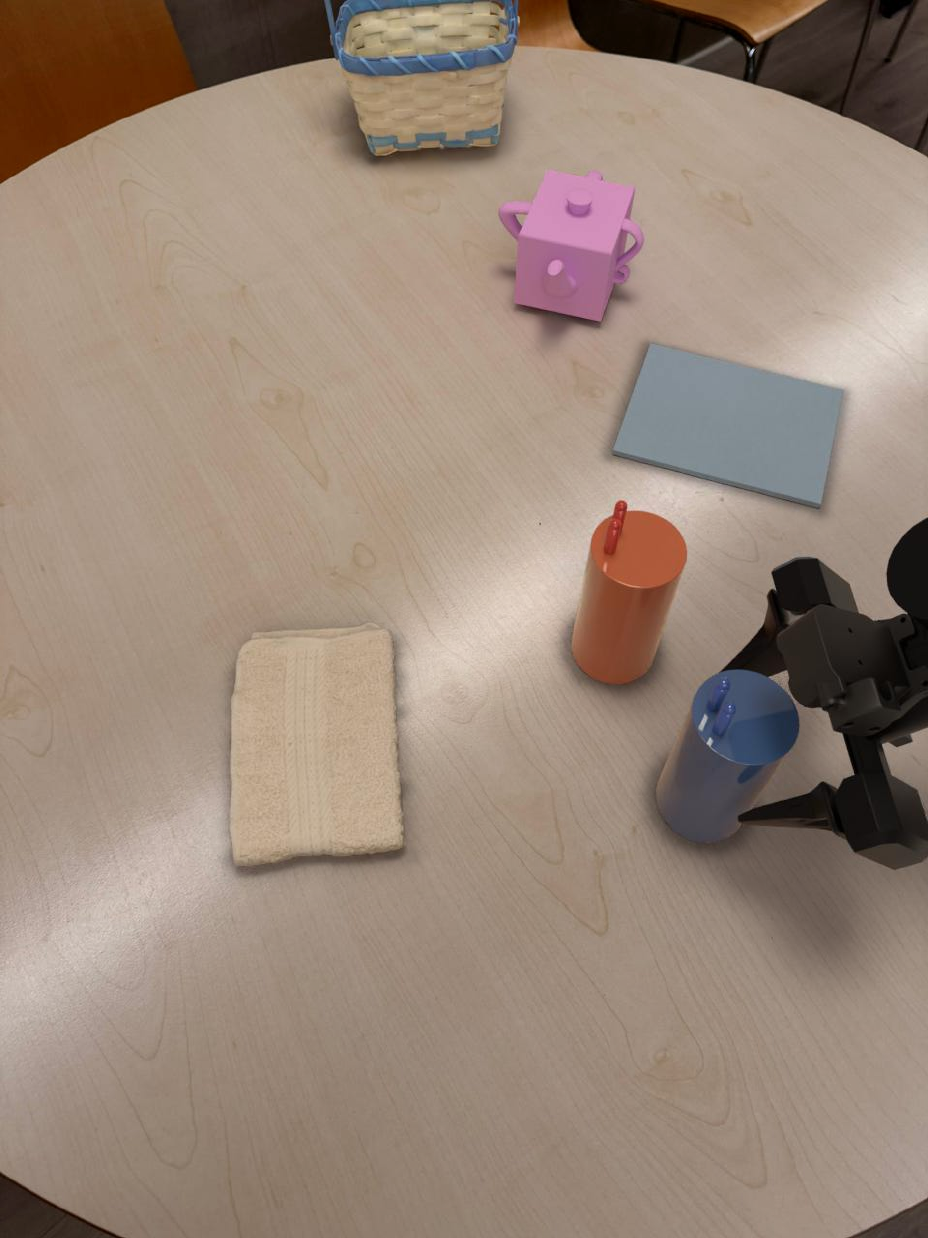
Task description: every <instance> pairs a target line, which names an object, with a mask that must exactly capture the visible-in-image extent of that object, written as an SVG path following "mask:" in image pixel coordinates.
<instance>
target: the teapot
mask: <svg viewBox="0 0 928 1238" xmlns="http://www.w3.org/2000/svg"><path fill="white" fill-rule="evenodd" d="M635 193H636V186H632V185H627V184H622V183H617V182H611V181H606V180H604V175H603V173H602V172H601V171H599V170H597V169H595V170H594V169H593V170H590V171H589V172H588V173H587V174H586V176H581V175H575V174H570V173H565V172H560V171H555V170H551V169H547V170H546V172H545V174H544V177H543V178H542V181H541V183H540V186H539V187H538V190H537V192H536V193H535V197H534V199H533V201H532V202H529V201H521V200H513V201H511V200H510V201H507V202H506V201H505V202H504V203H502V204H501V205H500V206H499V208H498V211H497V212H498V213H497V214H498V218H499V220H500V222H501V224H502V225H503V227H504V228H505V229H506V231H507V232H508V233H509V234H510V235H511V236H512V237H513V238H514V239H515V240H516V241H517V252H516V268H515V269H516V270H515V283H514V284H515V285H514V296H513V297H514V298H513V303H514V304H517V305H522V306H527V307H531V308H535V309H540V310H546V311H550V312H554V313H558V314H563V315H568V316H571V317H577V318H582V319H585V320H586V319H587V320H590V321H595V322H599V323H601V322H602V320H603V317H604V315H605V311H606V308H607V306H608V303H609V300H610V297H611V295H612V291H613V288H614V285H615V284H619V285H621V284H624V283H626V282H627V281H628V280H629V279H630V276H631V269H630V266H628V265H626V264H628V263H629V262H631V261H632V260H633V259H634V258H635V257H636V256H637V255H638V254H639V253H640V252H641V250H642V248H643V246H644V243H645V236H644V232H643V230H642V228H641V227H640V225H639V224H638V223H637V222H635V221H633V220H632V219H631V217H632V211H633V204H634V200H635V199H634V198H635ZM517 215H526V217H525V220H524V222H523V224H521V223H520V221H519V219H518V217H517ZM628 234H629V235H630V236H632V238H633V239H634V241H635V242H634V244H633V245H632V246H631V247H630V248H629V249H628V250H626V245H627V240H628Z"/></svg>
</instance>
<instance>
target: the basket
mask: <svg viewBox="0 0 928 1238" xmlns="http://www.w3.org/2000/svg"><path fill="white" fill-rule="evenodd" d="M323 2H324V6H325V10H326V16H327V20H328V21H327V22H328V26H329V31H330V35H329V39H330V40H329V41H330V45H331V46H332V49H333V54H334V60H335V61H339V64H340V68H341V72H342V76H343V77H344V78H345V79H346V85H347V88H348V89H347V90H348V92H349V95H350V97H351V99H352V100H353V105H354V109H355V112H356V114H357V119H358V125H359V128H360V130H361V131H362V133H363V134H364V137H365V140H366V144H367V147H368V149H369V151H370V153H372V154H373V155H374V156H376V157H377V156H388V155H391V154H393V153H396V152H412V151H418V149H431V148H434V149H435V148H442V147H445V148H465V147H466V146H470V147H471V146H472V147H483V148H484V147H494V146H496V145H498V144H499V143H500V138H501V127H502V119H503V109H504V106H505V105H504V102H505V87H506V85H507V83H508V74H509V68H511V66H512V60H513V55H514V53H515V47H516V46H517V44H518V39H519V37H518V34H519V33H518V28H520V26H521V19H520V16H519V0H513V1H512V0H346V1H344V2H343V4H342V5H341V6H340V7H339V12H338V15H337V19H336V21H335V19H334V12H333V9H332V4H331V0H323ZM495 2H496V3H495ZM497 2H498V3H499V4H501V5H502V6H503V8H501V7H500V6H499V4H498V3H497ZM491 13H493V14H491ZM495 26H496V27H498V29H497V28H496V27H495Z"/></svg>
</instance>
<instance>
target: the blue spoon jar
mask: <svg viewBox="0 0 928 1238" xmlns="http://www.w3.org/2000/svg"><path fill="white" fill-rule="evenodd" d="M719 672H720V671H719ZM719 672H718V673H716V674H713V675H711V676H709V678H707V679H706V680H704V681H703V682H702V683H701V685H700V686H699V687H698V688H697V690H696V692H695V694H694V696H693V698H692V701H691V703H690V705H689V708H688V710H687V711H686V715H685V717H684V720H683V721H682V724H681V726H680V729H679V730H678V734H677V736H676V738H675V741H674V743H673V745H672V748H671V751H670V752H669V755H668V757H667V759H666V762H665V764H664V767H663V769H662V771H661V773H660V776H659V778H658V781H657V783H656V786H655V787H656V788H655V802H656V807H657V809H658V812H659V814H660V816H661V819H663V821H664V823H666V825H667V826H668V827H669V828H670V829H671V830H673V831H674V832H675V833H676V834H677V835H679V836H681V837H683V838H685V839H687V840H690V841H693V842H697V843H704V844H705V843H706V844H709V843H710V844H711V843H717V842H718V843H719V842H722V841H724V840H726V839H728V838H730V837H731V836H733V835H734V834H735V833H736V832H738V830H739V829H740V828H741V826H742V825H743V824H742V823H739V822H738V818H737V817H738V815H740V814H742V813H745V812H747V811H749V810H751V809H754V808H755V805H756V804H757V802H758V800H759V799H760V797H761V796H762V794H763V793H764V791H765V790H766V789H767V787H768V785H769V784H770V782H771V781H772V779H773V778H774V777H775V775H776V773H777V771H778V770H779V769H780V767H781V766H782V764H783V763H784V762H785V760H786V758H787V757H788V755H789V753H790V752H791V751H792V749H793V747H794V746H795V744H796V743H797V740H798V738H799V734H800V723H801V722H800V716H799V712H798V710H797V706H796V704H795V702H794V700H793V699H792V697H791V695H790V694H789V693H788V692H787V691H786V690H785V688H784V687H782V686H781V685H780V684H779V683H778V682H776V681H775V680H773V679H772V678H770V677H766V676H764V675H762V674H759V673H756V672H753V671H748V670H728V671H724V672H720V673H719Z"/></svg>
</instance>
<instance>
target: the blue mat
mask: <svg viewBox="0 0 928 1238" xmlns="http://www.w3.org/2000/svg"><path fill="white" fill-rule="evenodd" d="M633 388H634V389H633V391H632V394H631V397H630V401H629V403H628V404H627V405H628V406H627V408H626V411H625V414H624V417H623V420H622V423H621V426H620V428H619V432H618V434H617V437H616V439H615V443H614V446H613V448H612V451H611V455H613V456H617V457H621V458H625V459H628V460H632V461H637V462H641V463H645V464H648V465H652V466H655V467H659V468H663V469H667V470H671V471H675V472H679V473H682V474H686V475H690V476H694V477H698V478H701V479H705V480H709V481H713V482H717V483H719V484H720V483H721V484H725V485H728V486H732V487H735V488H740V489H743V490H747V491H751V492H756V493H759V494H762V495H766V496H771V497H774V498H777V499H782V500H785V501H790V502H793V503H797V504H801V505H804V506H809V507H813V508H816V509H820V508H821V505H822V502H823V496H824V493H825V492H824V491H825V487H826V482H827V476H828V472H829V466H830V461H831V456H832V452H833V451H832V450H833V447H834V446H833V445H834V441H835V437H836V431H837V428H838V427H837V426H838V422H839V417H840V411H841V406H842V401H843V397H844V392H845V390H844V389H842V388H838V387H834V386H830V385H825V384H822V383H816V382H813V381H809V380H806V379H805V380H804V379H800V378H797V377H792V376H788V375H784V374H780V373H777V372H771V371H767V370H763V369H759V368H756V367H755V368H754V367H752V366H751V367H750V366H747V365H743V364H740V363H739V364H738V363H735V362H730V361H726V360H722V359H718V358H713V357H709V356H705V355H701V354H697V353H692V352H689V351H688V352H687V351H685V350H680V349H675V348H671V347H667V346H665V345H664V346H663V345H660V344H655V343H649V346H648V348H647V351H646V354H645V357H644V360H643V362H642V366H641V368H640V371H639V374H638V377H637V379H636V382H635V385H634V387H633Z"/></svg>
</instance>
